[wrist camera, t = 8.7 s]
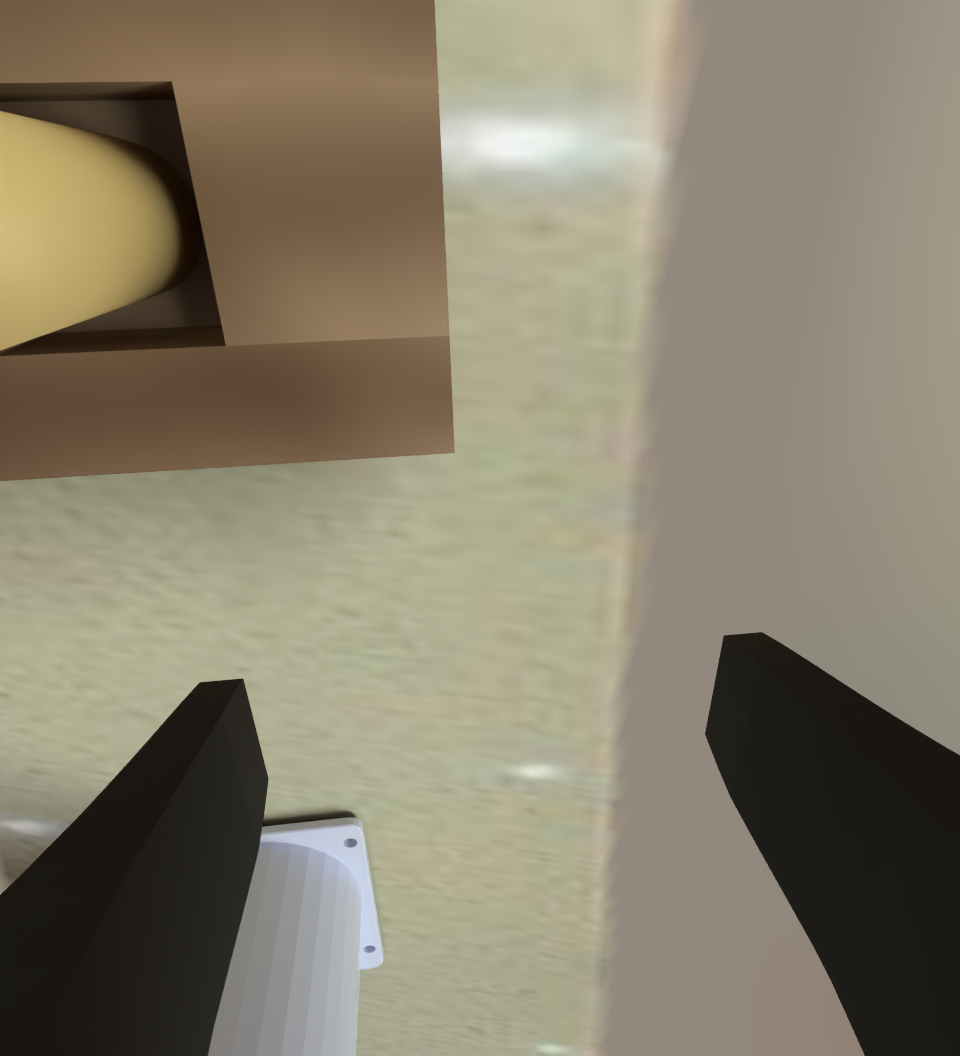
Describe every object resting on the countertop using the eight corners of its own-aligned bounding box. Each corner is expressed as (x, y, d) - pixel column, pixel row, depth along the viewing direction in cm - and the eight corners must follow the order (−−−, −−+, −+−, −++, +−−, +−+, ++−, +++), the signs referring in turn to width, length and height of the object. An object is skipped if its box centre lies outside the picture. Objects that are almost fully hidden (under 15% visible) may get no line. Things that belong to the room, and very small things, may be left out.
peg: (215, 291, 15) (81, 351, 9) (76, 300, 15) (-161, 369, 9) (180, 133, 14) (-9, 74, 8) (25, 141, 14) (-301, 88, 7)
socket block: (446, 414, 18) (454, 452, 15) (-95, 444, 17) (-189, 492, 14) (423, -59, 13) (429, -122, 11) (-333, -65, 12) (-541, -137, 9)
